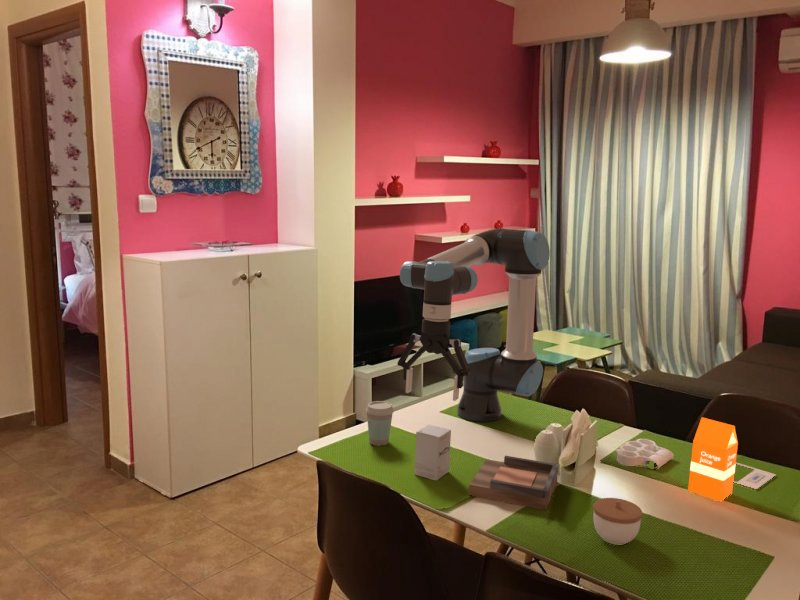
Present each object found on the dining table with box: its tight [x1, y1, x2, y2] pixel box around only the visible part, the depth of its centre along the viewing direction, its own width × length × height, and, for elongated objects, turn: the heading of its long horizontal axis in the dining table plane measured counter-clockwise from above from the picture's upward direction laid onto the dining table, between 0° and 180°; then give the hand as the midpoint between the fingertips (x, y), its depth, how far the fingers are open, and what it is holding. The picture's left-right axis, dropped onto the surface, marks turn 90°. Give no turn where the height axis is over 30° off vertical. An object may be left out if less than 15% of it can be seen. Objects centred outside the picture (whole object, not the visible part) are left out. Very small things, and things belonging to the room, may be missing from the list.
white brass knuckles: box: [614, 438, 674, 470], centre depth 211 cm, size 3×18×15 cm
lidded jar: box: [592, 497, 643, 545], centre depth 163 cm, size 11×11×9 cm
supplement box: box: [414, 424, 452, 481], centre depth 196 cm, size 7×7×13 cm
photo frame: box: [733, 461, 777, 490], centre depth 203 cm, size 15×1×18 cm
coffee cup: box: [365, 400, 394, 447], centre depth 217 cm, size 8×8×12 cm
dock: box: [468, 455, 559, 511], centre depth 189 cm, size 18×20×5 cm
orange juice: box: [687, 417, 739, 503], centre depth 188 cm, size 8×9×20 cm
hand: (431, 395), depth 193 cm, fingers open, 13 cm apart
